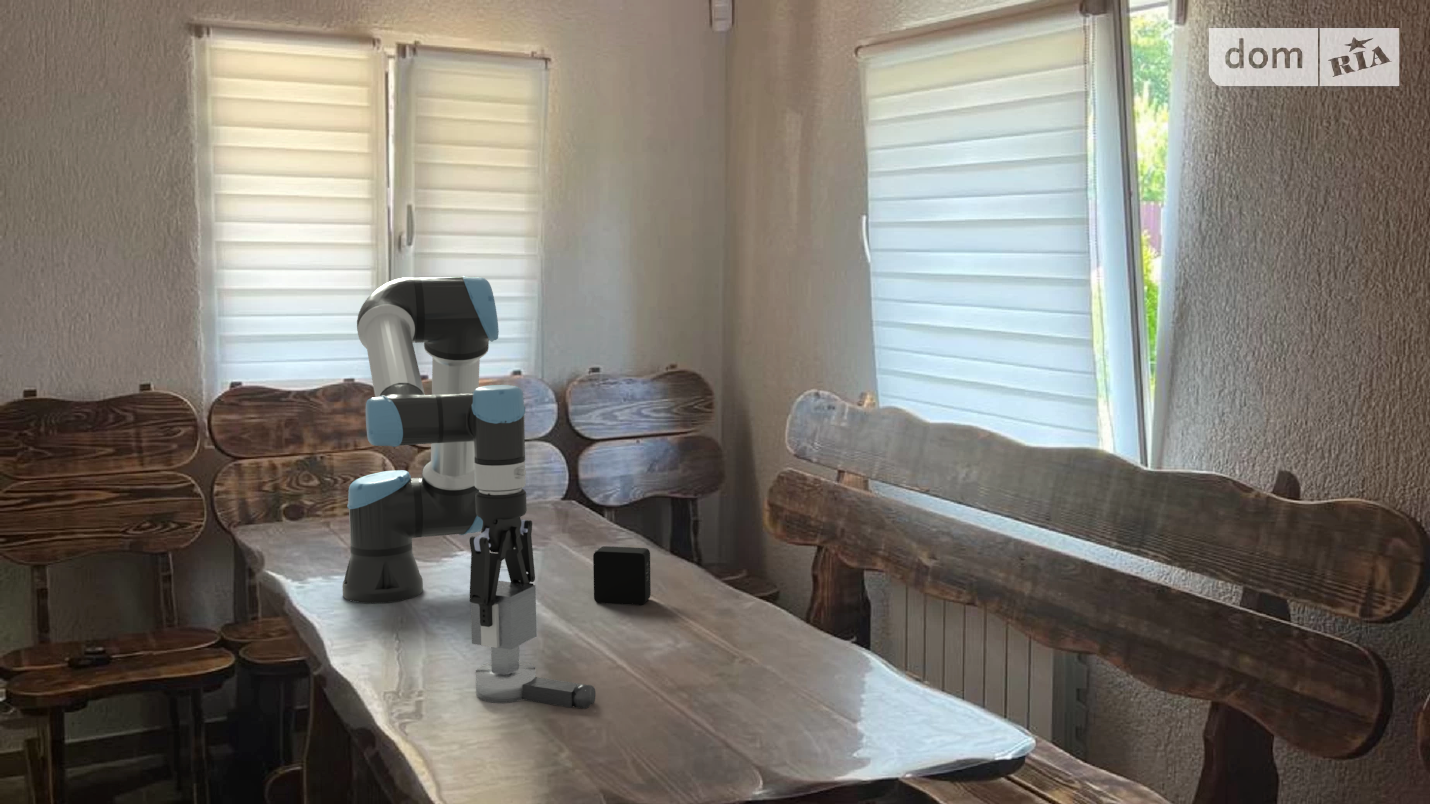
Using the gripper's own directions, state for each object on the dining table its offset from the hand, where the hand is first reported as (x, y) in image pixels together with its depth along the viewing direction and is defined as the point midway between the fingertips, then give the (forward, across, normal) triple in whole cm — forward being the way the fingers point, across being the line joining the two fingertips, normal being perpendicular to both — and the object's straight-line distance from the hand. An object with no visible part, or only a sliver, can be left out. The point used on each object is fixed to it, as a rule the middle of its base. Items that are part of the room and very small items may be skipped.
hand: (504, 638), depth 198 cm
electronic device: (+9, +51, +6) cm, 52 cm away
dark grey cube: (0, 0, 0) cm, 0 cm away
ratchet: (+9, 0, -5) cm, 10 cm away
